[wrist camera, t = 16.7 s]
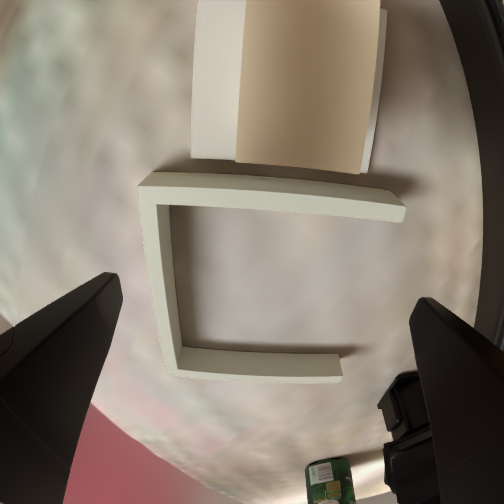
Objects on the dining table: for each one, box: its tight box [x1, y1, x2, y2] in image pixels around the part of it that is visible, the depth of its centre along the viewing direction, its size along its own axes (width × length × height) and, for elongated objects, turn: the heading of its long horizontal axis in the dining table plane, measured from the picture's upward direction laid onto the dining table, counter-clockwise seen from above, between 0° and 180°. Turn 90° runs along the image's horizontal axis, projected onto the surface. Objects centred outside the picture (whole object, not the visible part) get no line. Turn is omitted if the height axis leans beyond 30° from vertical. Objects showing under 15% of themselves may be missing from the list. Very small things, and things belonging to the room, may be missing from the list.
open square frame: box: [137, 172, 406, 384], centre depth 20 cm, size 14×16×2 cm
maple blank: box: [235, 0, 380, 175], centre depth 11 cm, size 4×7×6 cm, turn 176°
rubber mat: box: [191, 0, 387, 173], centre depth 14 cm, size 10×10×1 cm
